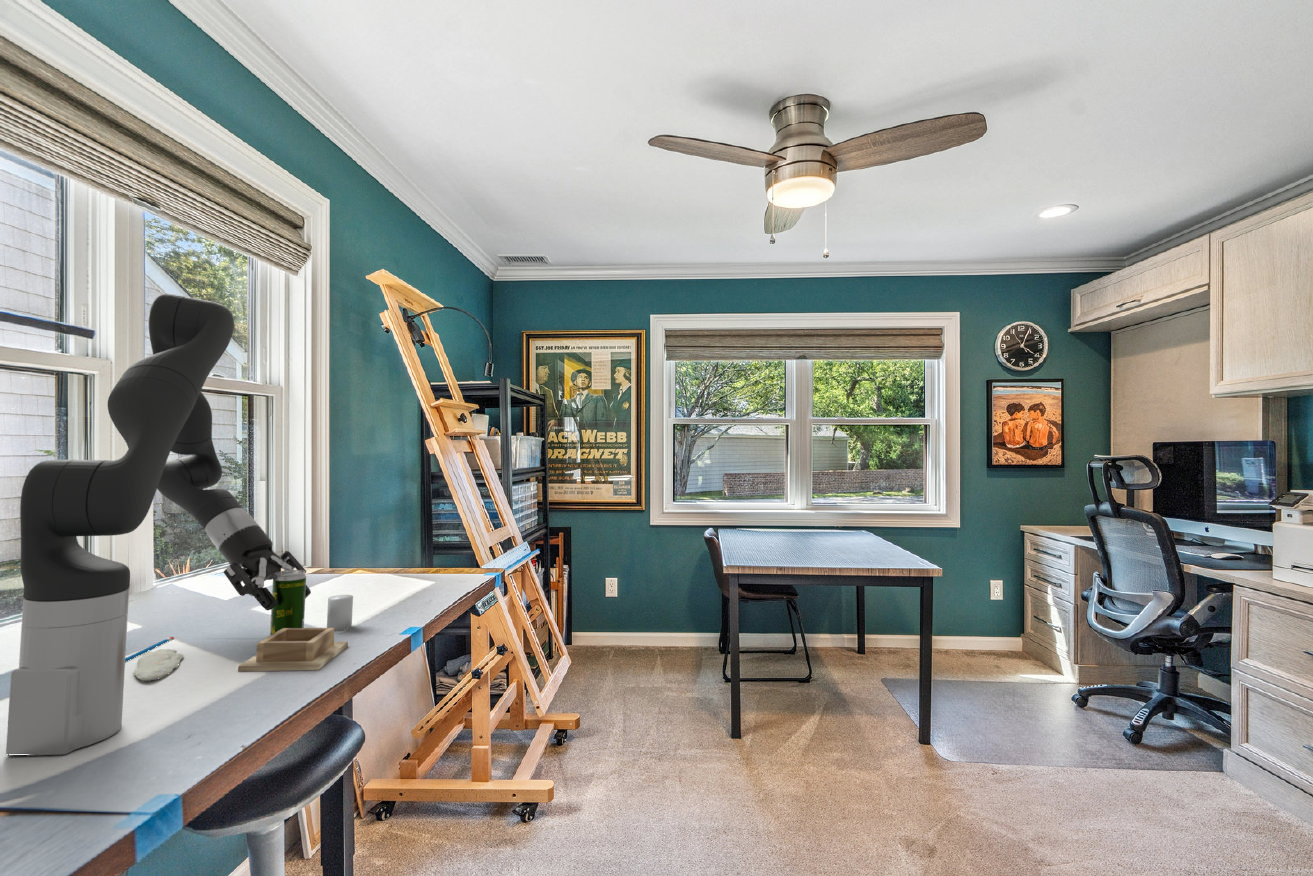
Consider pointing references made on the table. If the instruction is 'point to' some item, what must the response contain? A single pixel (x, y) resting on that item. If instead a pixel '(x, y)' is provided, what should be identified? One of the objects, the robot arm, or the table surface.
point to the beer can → (288, 600)
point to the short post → (340, 612)
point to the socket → (295, 650)
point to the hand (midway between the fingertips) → (290, 601)
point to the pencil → (148, 648)
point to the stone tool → (157, 664)
